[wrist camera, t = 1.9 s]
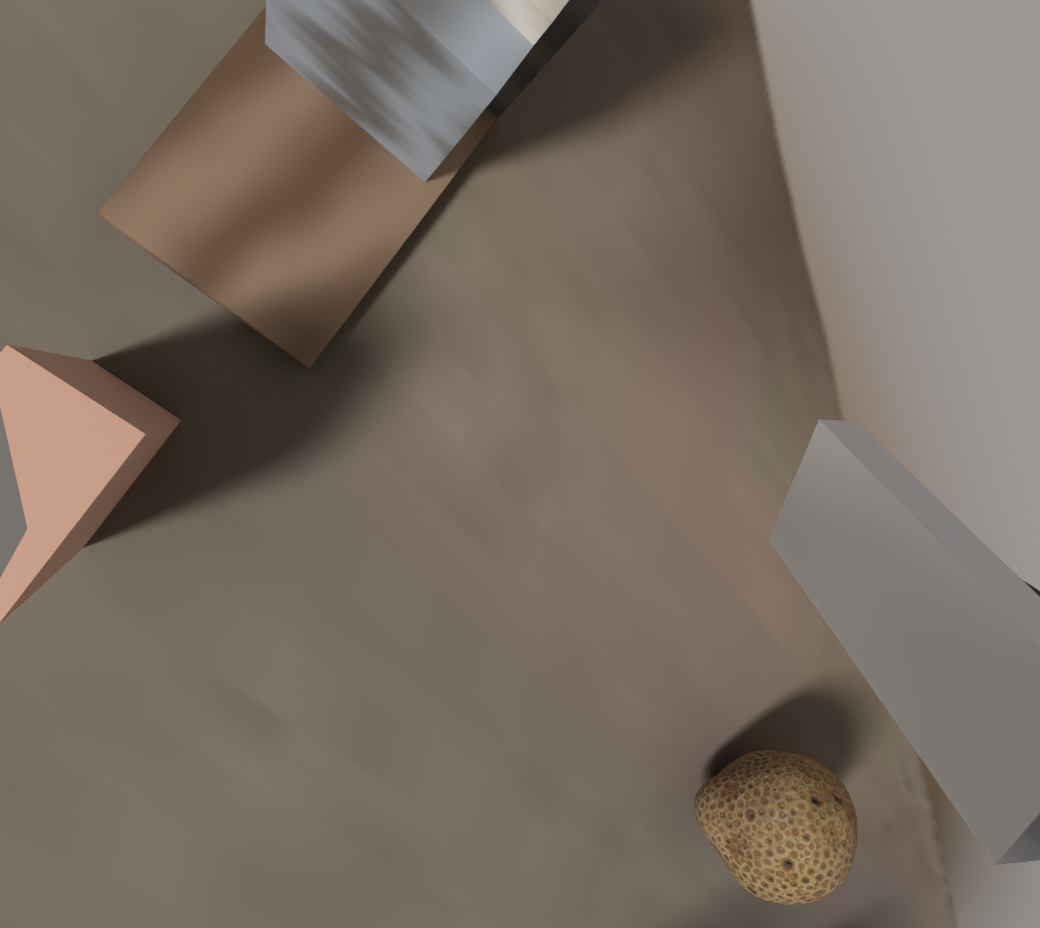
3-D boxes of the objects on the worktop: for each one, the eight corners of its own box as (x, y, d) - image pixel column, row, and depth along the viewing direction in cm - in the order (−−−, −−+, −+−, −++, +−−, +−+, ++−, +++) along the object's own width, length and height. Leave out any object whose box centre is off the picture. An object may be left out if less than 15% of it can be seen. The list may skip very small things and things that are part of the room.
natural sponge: (801, 805, 56) (912, 889, 46) (700, 873, 53) (795, 976, 44) (763, 697, 54) (872, 763, 44) (657, 763, 51) (747, 847, 42)
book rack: (102, 219, 38) (-2, 101, 23) (321, -49, 40) (363, -327, 25) (307, 368, 42) (339, 355, 26) (498, 115, 44) (631, -35, 28)
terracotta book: (-13, 492, 38) (-158, 546, 24) (91, 360, 39) (6, 344, 25) (83, 547, 39) (-4, 626, 26) (181, 419, 40) (145, 434, 27)
